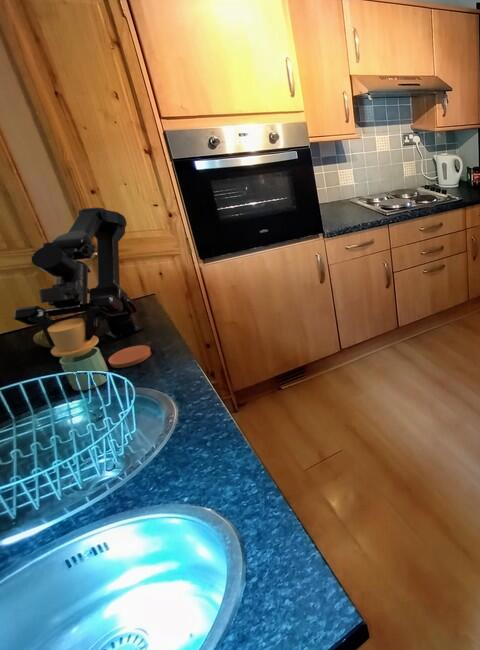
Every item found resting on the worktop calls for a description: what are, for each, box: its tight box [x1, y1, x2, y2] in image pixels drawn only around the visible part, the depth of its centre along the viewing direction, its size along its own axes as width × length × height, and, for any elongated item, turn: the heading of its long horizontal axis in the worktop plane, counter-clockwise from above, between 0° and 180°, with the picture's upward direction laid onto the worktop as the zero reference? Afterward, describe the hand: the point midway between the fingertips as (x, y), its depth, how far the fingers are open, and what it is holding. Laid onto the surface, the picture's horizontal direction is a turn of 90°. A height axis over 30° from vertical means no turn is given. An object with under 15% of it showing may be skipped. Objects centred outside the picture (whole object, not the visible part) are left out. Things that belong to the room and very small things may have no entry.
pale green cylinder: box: [59, 346, 110, 392], centre depth 113 cm, size 7×7×8 cm
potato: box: [32, 329, 53, 349], centre depth 126 cm, size 8×13×8 cm, turn 50°
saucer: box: [107, 344, 152, 369], centre depth 123 cm, size 9×9×1 cm
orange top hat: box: [48, 317, 100, 358], centre depth 109 cm, size 9×9×8 cm
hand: (70, 343), depth 108 cm, fingers closed on orange top hat, 6 cm apart
